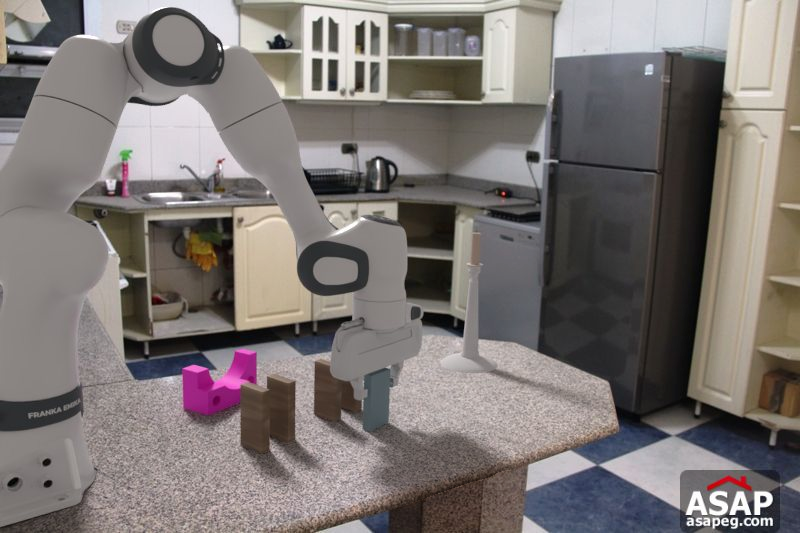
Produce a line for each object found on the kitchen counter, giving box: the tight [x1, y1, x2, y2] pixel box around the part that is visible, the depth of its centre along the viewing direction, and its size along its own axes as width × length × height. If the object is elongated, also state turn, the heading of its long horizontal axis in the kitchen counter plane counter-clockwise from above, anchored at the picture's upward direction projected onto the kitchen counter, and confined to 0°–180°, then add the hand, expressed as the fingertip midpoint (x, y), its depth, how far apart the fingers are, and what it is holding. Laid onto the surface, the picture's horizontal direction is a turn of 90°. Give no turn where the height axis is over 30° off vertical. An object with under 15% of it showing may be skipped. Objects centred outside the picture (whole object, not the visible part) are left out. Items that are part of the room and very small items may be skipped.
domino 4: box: [341, 380, 363, 413], centre depth 131 cm, size 2×5×10 cm, turn 52°
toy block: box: [181, 348, 258, 416], centre depth 134 cm, size 15×6×8 cm, turn 148°
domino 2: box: [266, 373, 297, 443], centre depth 118 cm, size 2×5×10 cm, turn 52°
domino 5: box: [362, 367, 391, 432], centre depth 123 cm, size 2×5×10 cm, turn 142°
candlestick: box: [439, 230, 499, 374], centre depth 155 cm, size 13×13×30 cm
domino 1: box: [240, 382, 271, 454], centre depth 114 cm, size 2×5×10 cm, turn 52°
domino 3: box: [313, 358, 342, 423], centre depth 126 cm, size 2×5×10 cm, turn 52°
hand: (376, 392), depth 123 cm, fingers open, 7 cm apart
